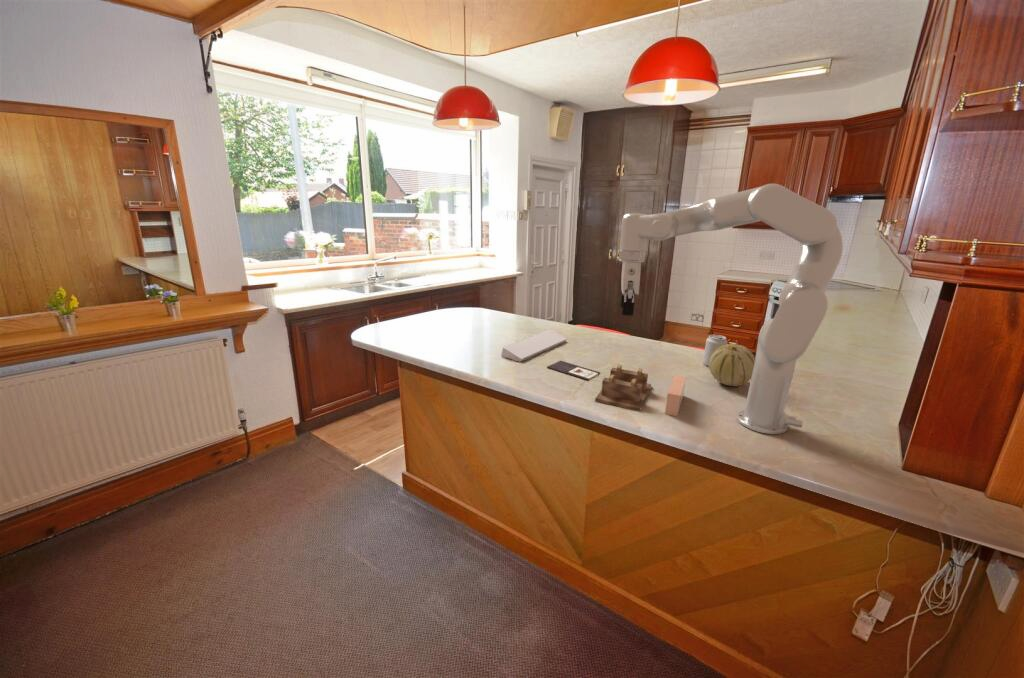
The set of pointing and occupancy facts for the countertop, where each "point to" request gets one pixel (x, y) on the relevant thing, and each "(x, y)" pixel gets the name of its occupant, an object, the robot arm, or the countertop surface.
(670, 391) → the salmon pink rectangular block
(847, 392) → the countertop surface
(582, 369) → the chocolate bar
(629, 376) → the brown cradle stand
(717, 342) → the can
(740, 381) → the cantaloupe
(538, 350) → the decorative molding
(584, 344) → the countertop surface
